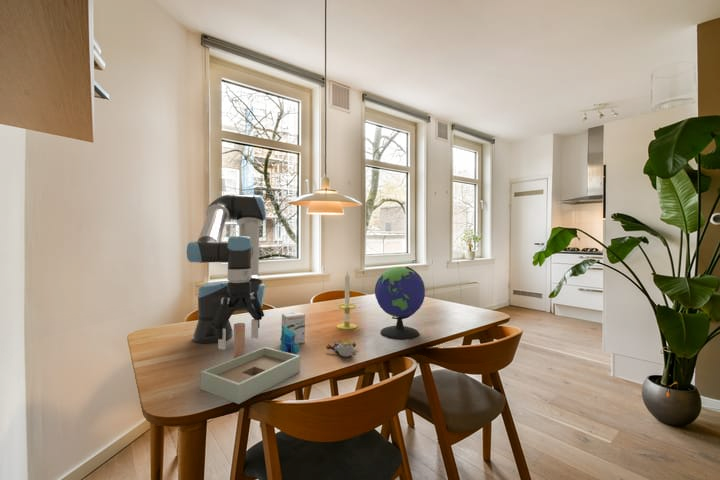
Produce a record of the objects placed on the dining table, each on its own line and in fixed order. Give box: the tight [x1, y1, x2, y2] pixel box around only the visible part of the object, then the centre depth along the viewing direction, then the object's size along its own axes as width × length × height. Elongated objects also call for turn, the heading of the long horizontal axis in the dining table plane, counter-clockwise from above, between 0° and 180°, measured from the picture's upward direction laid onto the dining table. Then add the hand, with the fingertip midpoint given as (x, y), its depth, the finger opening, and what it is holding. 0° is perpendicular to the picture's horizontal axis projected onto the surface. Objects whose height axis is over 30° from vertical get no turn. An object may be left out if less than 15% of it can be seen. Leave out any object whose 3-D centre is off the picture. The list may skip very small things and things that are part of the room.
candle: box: [336, 271, 358, 331], centre depth 156 cm, size 10×10×27 cm
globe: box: [374, 266, 426, 341], centre depth 146 cm, size 22×22×30 cm
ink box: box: [280, 311, 306, 345], centre depth 133 cm, size 9×5×12 cm, turn 123°
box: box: [200, 346, 301, 405], centre depth 99 cm, size 16×24×5 cm, turn 150°
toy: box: [325, 339, 357, 358], centre depth 122 cm, size 12×5×15 cm
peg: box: [233, 322, 246, 359], centre depth 112 cm, size 4×4×13 cm
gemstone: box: [280, 325, 300, 355], centre depth 115 cm, size 7×9×12 cm
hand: (239, 343), depth 112 cm, fingers open, 13 cm apart
